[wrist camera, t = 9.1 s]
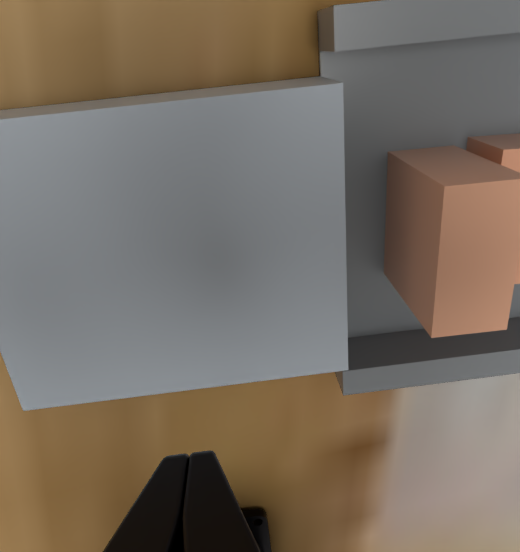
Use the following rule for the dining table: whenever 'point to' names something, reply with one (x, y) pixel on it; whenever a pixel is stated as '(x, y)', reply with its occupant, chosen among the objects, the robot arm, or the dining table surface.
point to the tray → (415, 135)
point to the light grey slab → (173, 241)
